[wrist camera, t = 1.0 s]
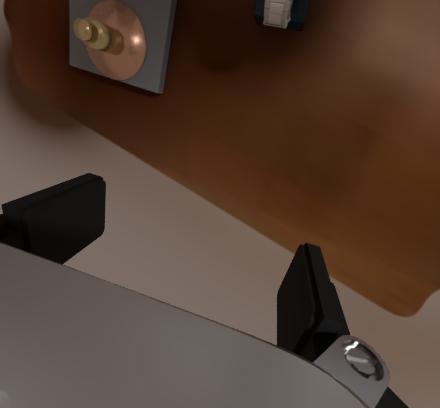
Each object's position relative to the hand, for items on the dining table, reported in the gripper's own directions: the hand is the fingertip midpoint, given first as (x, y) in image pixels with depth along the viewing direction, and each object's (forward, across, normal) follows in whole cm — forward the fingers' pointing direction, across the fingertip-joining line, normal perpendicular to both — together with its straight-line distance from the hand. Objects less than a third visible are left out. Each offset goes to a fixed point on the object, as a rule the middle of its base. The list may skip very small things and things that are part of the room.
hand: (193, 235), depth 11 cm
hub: (+25, +21, -8) cm, 34 cm away
